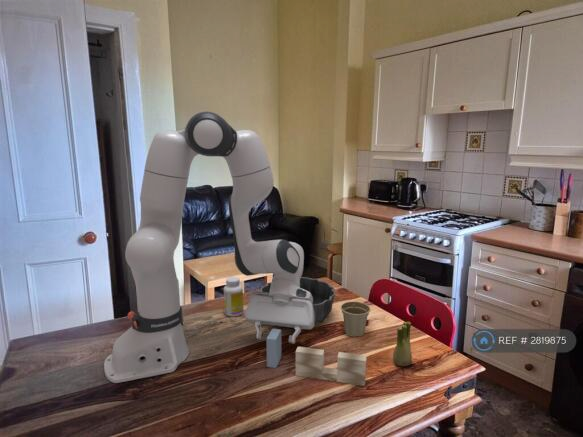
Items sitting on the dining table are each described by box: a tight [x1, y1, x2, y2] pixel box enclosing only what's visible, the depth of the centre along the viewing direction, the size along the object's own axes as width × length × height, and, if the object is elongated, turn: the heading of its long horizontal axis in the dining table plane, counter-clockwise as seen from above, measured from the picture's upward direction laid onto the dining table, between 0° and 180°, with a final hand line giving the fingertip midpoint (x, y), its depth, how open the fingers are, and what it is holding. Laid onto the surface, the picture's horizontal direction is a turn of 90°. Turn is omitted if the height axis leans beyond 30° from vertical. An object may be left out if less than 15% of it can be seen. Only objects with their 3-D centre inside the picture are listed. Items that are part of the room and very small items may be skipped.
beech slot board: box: [295, 346, 367, 387], centre depth 98 cm, size 18×2×7 cm, turn 76°
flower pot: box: [340, 300, 371, 337], centre depth 121 cm, size 9×9×9 cm
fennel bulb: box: [392, 321, 413, 367], centre depth 104 cm, size 6×5×12 cm
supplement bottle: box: [223, 276, 244, 317], centre depth 134 cm, size 7×7×13 cm
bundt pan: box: [259, 276, 336, 329], centre depth 132 cm, size 26×26×10 cm
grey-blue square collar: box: [265, 328, 282, 369], centre depth 105 cm, size 6×3×8 cm, turn 166°
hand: (275, 340), depth 105 cm, fingers open, 8 cm apart
